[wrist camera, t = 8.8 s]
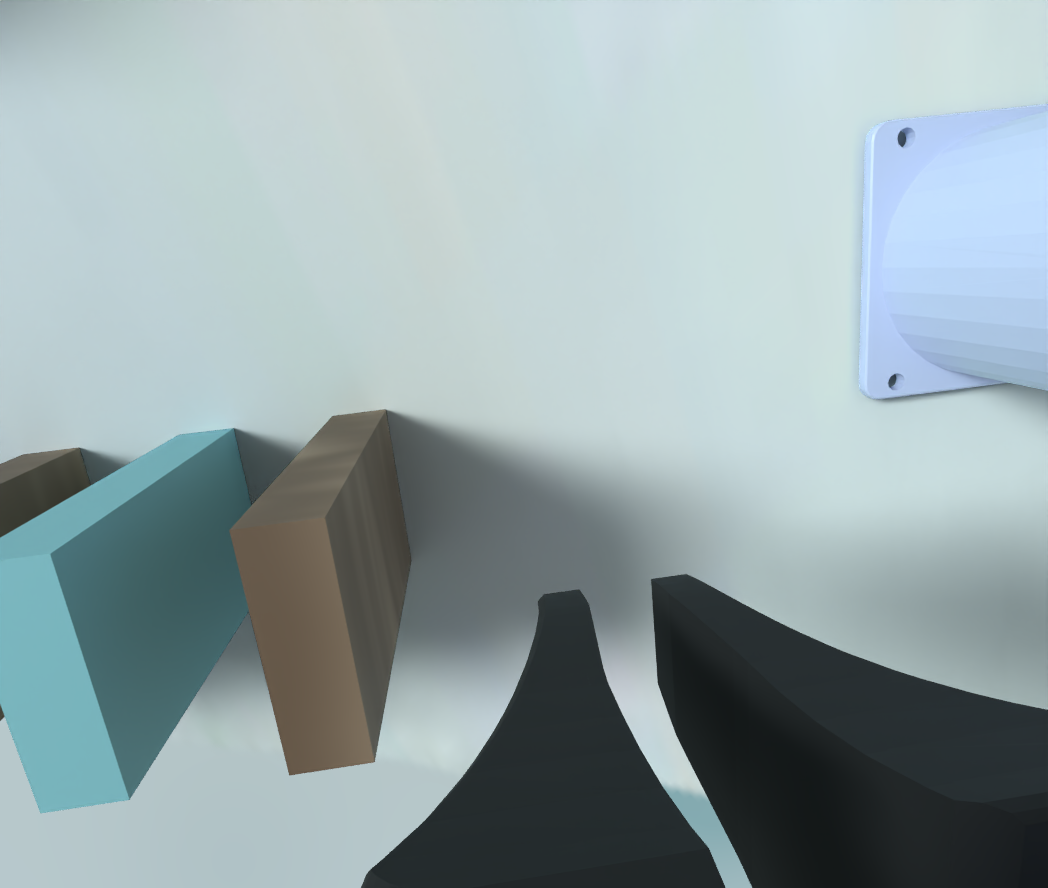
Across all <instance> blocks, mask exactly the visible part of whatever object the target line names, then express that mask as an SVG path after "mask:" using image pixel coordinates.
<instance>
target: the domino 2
mask: <svg viewBox="0 0 1048 888" xmlns="http://www.w3.org/2000/svg"><path fill="white" fill-rule="evenodd" d="M250 507H251V502H250V498H249V493H248V489H247V484H246V480H245V476H244V471H243V467H242V463H241V458H240V454H239V450H238V445H237V441H236V437H235V432H234V428H232V429H223V430H215V431H207V432H198V433H190V434H182V435H178V436H176V437H174V438H173V439H171V440H169V441H167V442H166V443H164V444H162V445H160V446H159V447H157V448H155V449H153V450H152V451H150V452H148V453H146V454H145V455H143V456H141V457H140V458H138V459H136V460H134V461H133V462H131V463H129V464H127V465H126V466H124V467H122V468H120V469H119V470H117V471H115V472H113V473H112V474H110V475H108V476H106V477H105V478H103V479H101V480H100V481H98V482H96V483H94V484H93V485H91V486H89V487H87V488H86V489H84V490H82V491H80V492H79V493H77V494H75V495H73V496H72V497H70V498H68V499H67V500H65V501H63V502H61V503H60V504H58V505H56V506H54V507H53V508H51V509H49V510H47V511H46V512H44V513H42V514H40V515H39V516H37V517H35V518H34V519H32V520H30V521H28V522H27V523H25V524H23V525H21V526H20V527H18V528H16V529H14V530H13V531H11V532H9V533H7V534H6V535H4V536H2V537H1V538H0V705H1V707H2V710H3V713H4V716H5V718H6V721H7V724H8V726H9V729H10V732H11V735H12V737H13V740H14V743H15V745H16V748H17V751H18V753H19V756H20V759H21V762H22V764H23V767H24V770H25V772H26V775H27V778H28V781H29V783H30V786H31V789H32V792H33V794H34V797H35V800H36V802H37V805H38V808H39V810H40V813H46V812H53V811H59V810H65V809H72V808H78V807H85V806H92V805H99V804H105V803H112V802H118V801H125V800H130V798H131V796H132V795H133V793H134V792H135V790H136V789H137V787H138V785H139V784H140V782H141V780H142V779H143V778H144V776H145V774H146V773H147V771H148V770H149V768H150V766H151V765H152V763H153V761H154V760H155V759H156V757H157V755H158V754H159V752H160V751H161V749H162V747H163V746H164V744H165V743H166V741H167V740H168V738H169V736H170V735H171V733H172V732H173V730H174V729H175V727H176V725H177V724H178V722H179V721H180V719H181V717H182V716H183V714H184V713H185V711H186V710H187V708H188V706H189V705H190V703H191V702H192V700H193V699H194V697H195V695H196V694H197V692H198V691H199V689H200V687H201V686H202V684H203V683H204V681H205V680H206V678H207V676H208V675H209V673H210V672H211V670H212V668H213V667H214V665H215V664H216V662H217V661H218V659H219V657H220V656H221V654H222V653H223V651H224V650H225V648H226V646H227V645H228V643H229V642H230V640H231V638H232V637H233V635H234V634H235V632H236V631H237V629H238V627H239V626H240V624H241V623H242V621H243V619H244V618H245V616H246V615H247V613H248V612H249V609H248V605H247V601H246V596H245V592H244V588H243V584H242V580H241V576H240V572H239V568H238V564H237V560H236V556H235V552H234V548H233V544H232V539H231V535H230V531H229V530H230V529H231V528H232V527H233V525H234V524H235V523H236V522H237V521H238V520H239V519H240V518H241V517H242V516H243V514H244V513H245V512H246V511H247V510H248V509H249V508H250Z"/></svg>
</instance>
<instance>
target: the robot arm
mask: <svg viewBox="0 0 1048 888" xmlns="http://www.w3.org/2000/svg"><path fill="white" fill-rule="evenodd" d="M900 131H903V132H904V133H905V135H906V143H905V145H904V146H903V147H901V146H900V145H899V144H898V140H897V138H898V134H899V132H900ZM894 374H895V375H896V378H897V379H896V382H895V384H894V385H893V386H892V387H890V388H889V385H888V381H889V378H890V377H891V376H892V375H894ZM1002 383H1013V384H1017V385H1022V386H1027V387H1032V388H1037V389H1042V390H1047V391H1048V104H1042V105H1032V106H1023V107H1013V108H1004V109H994V110H984V111H975V112H965V113H956V114H946V115H937V116H927V117H917V118H908V119H898V120H889V121H886V122H883V123H880V124H877V125H875V126H874V127H873V128H872V129H871V130H870V131H869V133H868V135H867V136H866V141H865V166H864V204H863V243H862V281H861V320H860V358H859V388H860V391H861V392H862V394H863V395H865V396H867V397H869V398H872V399H886V398H893V397H901V396H909V395H917V394H924V393H932V392H940V391H948V390H955V389H963V388H971V387H979V386H986V385H994V384H1002ZM651 584H652V599H653V615H654V631H655V646H656V662H657V678H658V685H659V688H660V691H661V694H662V696H663V699H664V702H665V705H666V708H667V711H668V714H669V716H670V719H671V722H672V725H673V727H674V730H675V733H676V735H677V737H678V739H679V741H680V744H681V746H682V748H683V750H684V752H685V754H686V756H687V758H688V760H689V762H690V763H691V765H692V767H693V769H694V771H695V773H696V775H697V777H698V779H699V781H700V783H701V785H702V787H703V789H704V791H705V793H706V795H707V797H708V799H709V801H710V803H711V805H712V807H713V809H714V810H715V812H716V814H717V816H718V818H719V820H720V822H721V824H722V826H723V828H724V830H725V832H726V834H727V836H728V838H729V840H730V842H731V844H732V846H733V848H734V850H735V852H736V853H737V855H738V857H739V860H740V862H741V864H742V866H743V868H744V870H745V872H746V875H747V877H748V879H749V881H750V883H751V885H752V888H1048V710H1045V709H1041V708H1036V707H1031V706H1026V705H1021V704H1016V703H1011V702H1007V701H1003V700H999V699H995V698H990V697H986V696H982V695H978V694H974V693H970V692H966V691H963V690H959V689H956V688H952V687H948V686H945V685H941V684H938V683H934V682H931V681H927V680H923V679H920V678H917V677H914V676H911V675H907V674H904V673H901V672H898V671H895V670H892V669H889V668H887V667H884V666H881V665H878V664H876V663H873V662H870V661H867V660H865V659H862V658H859V657H856V656H853V655H851V654H848V653H846V652H843V651H841V650H838V649H836V648H833V647H831V646H829V645H826V644H824V643H822V642H820V641H818V640H815V639H813V638H811V637H809V636H806V635H804V634H802V633H800V632H798V631H795V630H793V629H791V628H789V627H787V626H785V625H783V624H781V623H779V622H777V621H775V620H773V619H771V618H769V617H767V616H765V615H763V614H761V613H759V612H757V611H755V610H754V609H752V608H750V607H748V606H746V605H744V604H742V603H740V602H739V601H737V600H735V599H733V598H731V597H729V596H728V595H726V594H724V593H722V592H720V591H718V590H717V589H715V588H713V587H711V586H709V585H707V584H705V583H704V582H702V581H700V580H698V579H696V578H694V577H691V576H689V575H687V574H685V575H678V576H671V577H663V578H656V579H651ZM538 606H539V617H538V623H537V628H536V633H535V637H534V640H533V643H532V647H531V650H530V653H529V657H528V660H527V663H526V665H525V668H524V670H523V673H522V675H521V677H520V680H519V682H518V685H517V687H516V690H515V692H514V694H513V696H512V698H511V700H510V702H509V704H508V706H507V708H506V710H505V712H504V714H503V716H502V718H501V719H500V721H499V723H498V725H497V726H496V728H495V730H494V732H493V733H492V735H491V736H490V738H489V739H488V741H487V742H486V744H485V746H484V747H483V749H482V750H481V752H480V753H479V755H478V756H477V758H476V759H475V761H474V762H473V763H472V765H471V766H470V767H469V769H468V770H467V772H466V773H465V774H464V775H463V777H462V778H461V779H460V781H459V782H458V783H457V784H456V785H455V787H454V788H453V789H452V790H451V791H450V792H449V794H448V795H447V796H446V797H445V798H444V799H443V801H442V802H441V803H440V804H439V805H438V806H437V807H436V809H435V810H434V811H433V812H432V813H431V815H430V816H429V817H428V818H427V819H426V820H425V821H424V822H423V823H422V824H421V825H420V826H419V827H418V828H416V830H414V831H413V832H412V833H411V834H410V835H409V836H408V837H407V838H405V839H404V840H403V841H402V842H401V843H400V844H399V845H398V846H397V847H396V848H395V849H394V850H393V851H391V852H390V853H389V854H388V855H387V856H386V857H385V858H384V859H383V860H381V861H380V862H379V863H378V864H377V865H375V866H374V867H373V868H372V869H371V870H370V871H369V872H368V873H367V875H366V877H365V879H364V882H363V884H362V887H361V888H725V885H724V883H723V881H722V878H721V876H720V874H719V871H718V869H717V867H716V864H715V862H714V859H713V857H712V855H711V852H710V850H709V848H708V847H707V846H706V845H705V843H704V842H703V841H702V839H701V838H700V837H699V836H698V835H697V833H695V831H694V830H693V829H692V827H691V826H690V825H689V823H688V822H687V820H686V819H685V818H684V816H683V815H682V813H681V812H680V811H679V809H678V808H677V806H676V805H675V804H674V802H673V801H672V799H671V798H670V797H669V795H668V794H667V792H666V791H665V789H664V788H663V787H662V785H661V783H660V782H659V780H658V778H657V777H656V775H655V773H654V771H653V770H652V768H651V766H650V765H649V763H648V761H647V760H646V758H645V756H644V755H643V753H642V751H641V750H640V748H639V746H638V744H637V742H636V740H635V738H634V736H633V734H632V732H631V730H630V728H629V726H628V725H627V723H626V721H625V719H624V717H623V715H622V713H621V710H620V708H619V706H618V704H617V702H616V700H615V697H614V695H613V693H612V691H611V689H610V687H609V684H608V682H607V679H606V675H605V672H604V669H603V665H602V661H601V656H600V652H599V647H598V643H597V638H596V634H595V629H594V625H593V620H592V616H591V612H590V607H589V604H588V602H587V600H586V599H585V597H584V595H583V594H582V593H581V591H580V590H572V591H565V592H558V593H551V594H544V595H543V596H542V597H541V599H540V600H539V601H538Z"/></svg>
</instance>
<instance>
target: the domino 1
mask: <svg viewBox="0 0 1048 888" xmlns="http://www.w3.org/2000/svg"><path fill="white" fill-rule="evenodd" d="M89 486H91V485H90V482H89V478H88V475H87V472H86V468H85V465H84V462H83V458H82V455H81V452H80V448H72V449H64V450H56V451H48V452H40V453H32V454H24V455H21V456H19V457H16V458H14V459H11V460H9V461H7V462H4V463H2V464H0V538H1V537H2V536H4V535H6V534H7V533H9V532H11V531H13V530H14V529H16V528H18V527H20V526H21V525H23V524H25V523H27V522H28V521H30V520H32V519H34V518H35V517H37V516H39V515H40V514H42V513H44V512H46V511H47V510H49V509H51V508H53V507H54V506H56V505H58V504H60V503H61V502H63V501H65V500H67V499H68V498H70V497H72V496H73V495H75V494H77V493H79V492H80V491H82V490H84V489H86V488H87V487H89ZM4 717H5V716H4V713H3V710H2V707H1V705H0V721H1V720H2V719H3V718H4Z"/></svg>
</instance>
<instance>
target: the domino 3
mask: <svg viewBox="0 0 1048 888" xmlns="http://www.w3.org/2000/svg"><path fill="white" fill-rule="evenodd" d="M229 531H230V535H231V539H232V544H233V548H234V552H235V556H236V560H237V564H238V568H239V572H240V576H241V580H242V584H243V588H244V592H245V596H246V601H247V605H248V609H249V613H250V617H251V621H252V625H253V629H254V633H255V637H256V641H257V645H258V649H259V654H260V658H261V662H262V666H263V670H264V674H265V678H266V682H267V686H268V690H269V694H270V698H271V702H272V706H273V711H274V715H275V719H276V723H277V727H278V731H279V735H280V739H281V743H282V747H283V751H284V755H285V759H286V763H287V767H288V772H289V775H295V774H301V773H307V772H314V771H321V770H327V769H333V768H340V767H346V766H353V765H360V764H366V763H373V762H375V757H376V752H377V746H378V741H379V735H380V730H381V724H382V719H383V713H384V708H385V702H386V697H387V691H388V686H389V680H390V675H391V669H392V664H393V658H394V653H395V647H396V642H397V636H398V631H399V625H400V620H401V614H402V609H403V604H404V598H405V593H406V587H407V582H408V576H409V571H410V565H411V556H410V550H409V544H408V538H407V532H406V526H405V520H404V514H403V508H402V502H401V496H400V490H399V484H398V479H397V473H396V467H395V461H394V455H393V449H392V443H391V437H390V431H389V425H388V419H387V413H386V410H378V411H370V412H362V413H354V414H346V415H338V416H332V417H331V418H330V419H329V421H328V422H327V423H326V424H325V425H324V426H323V427H322V428H321V429H320V430H319V432H318V433H317V434H316V435H315V436H314V437H313V438H312V439H311V440H310V442H309V443H308V444H307V445H306V446H305V447H304V448H303V449H302V450H301V451H300V453H299V454H298V455H297V456H296V457H295V458H294V459H293V460H292V461H291V463H290V464H289V465H288V466H287V467H286V468H285V469H284V470H283V471H282V472H281V474H280V475H279V476H278V477H277V478H276V479H275V480H274V481H273V482H272V483H271V485H270V486H269V487H268V488H267V489H266V490H265V491H264V492H263V493H262V495H261V496H260V497H259V498H258V499H257V500H256V501H255V502H254V503H253V504H252V506H251V507H250V508H249V509H248V510H247V511H246V512H245V513H244V514H243V516H242V517H241V518H240V519H239V520H238V521H237V522H236V523H235V524H234V525H233V527H232V528H231V529H230V530H229Z"/></svg>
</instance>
